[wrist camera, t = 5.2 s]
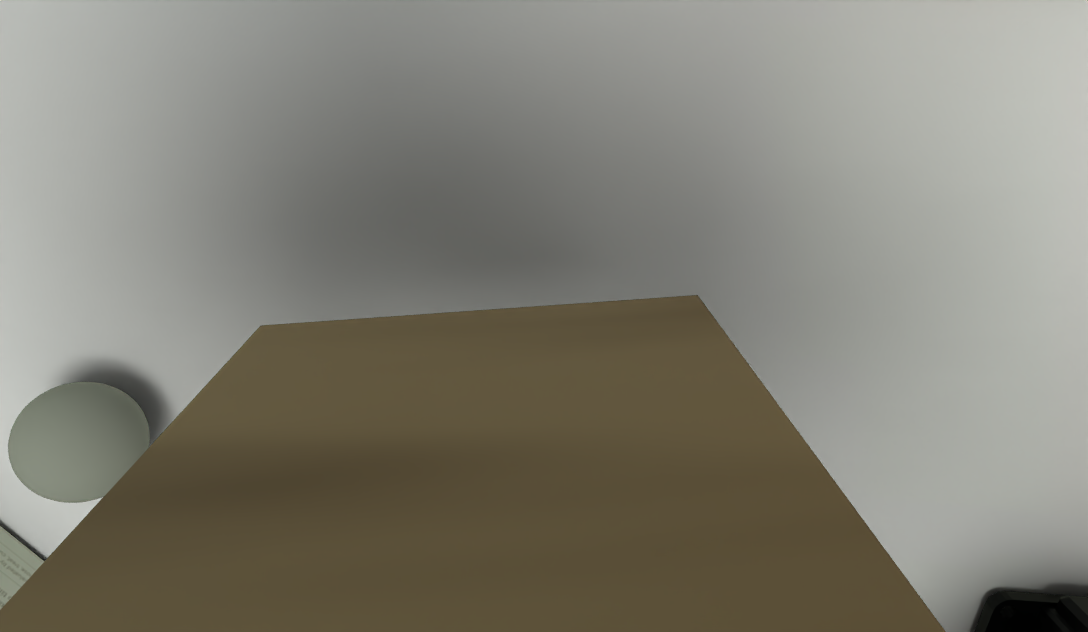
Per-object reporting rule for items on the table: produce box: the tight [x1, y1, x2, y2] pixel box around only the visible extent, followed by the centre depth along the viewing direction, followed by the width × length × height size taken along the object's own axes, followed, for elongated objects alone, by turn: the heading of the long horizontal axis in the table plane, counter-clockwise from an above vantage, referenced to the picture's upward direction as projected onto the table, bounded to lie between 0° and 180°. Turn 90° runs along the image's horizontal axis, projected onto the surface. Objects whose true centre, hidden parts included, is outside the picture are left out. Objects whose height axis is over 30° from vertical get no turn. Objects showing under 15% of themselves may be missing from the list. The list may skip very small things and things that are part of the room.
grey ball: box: [8, 382, 150, 503], centre depth 19 cm, size 3×3×3 cm
